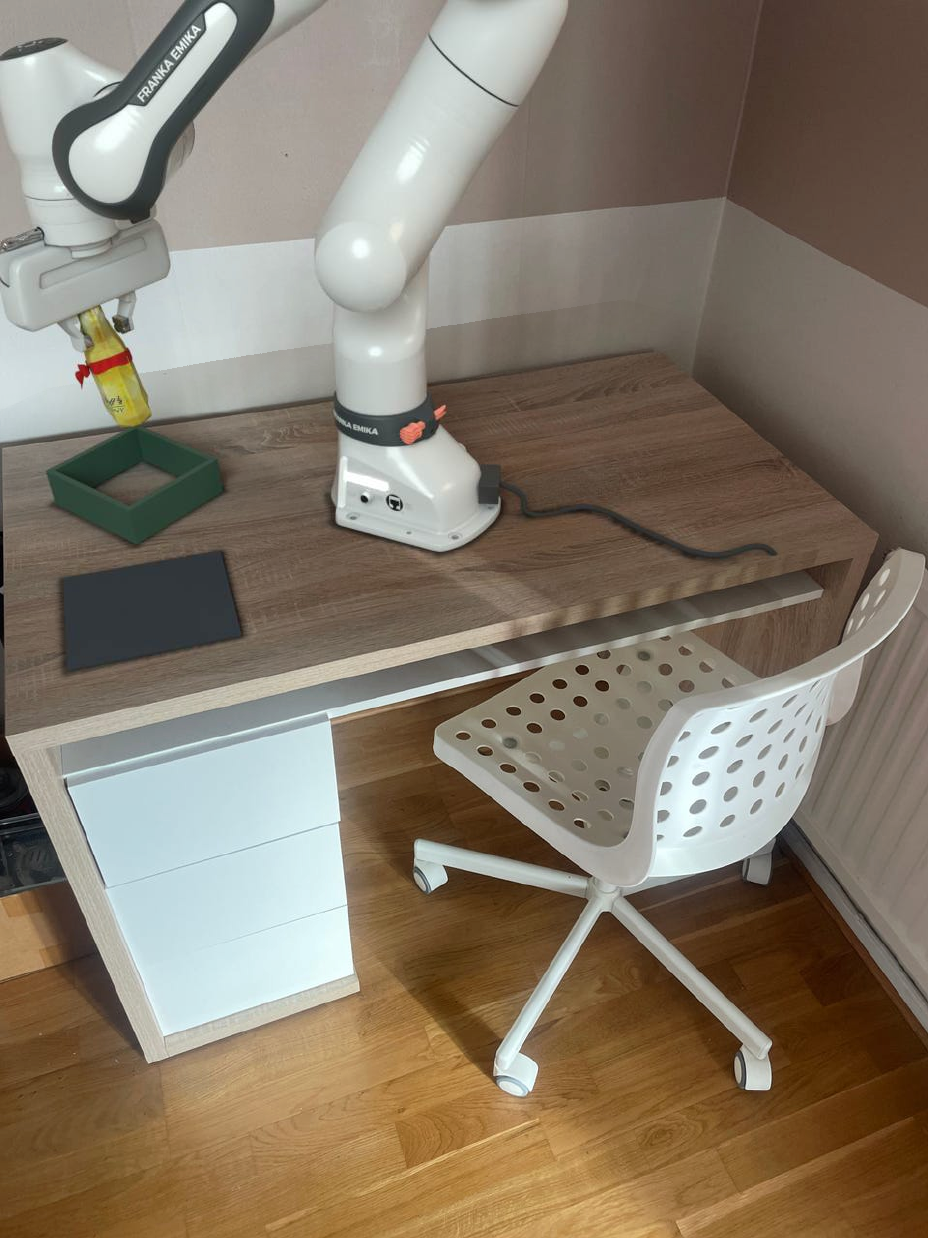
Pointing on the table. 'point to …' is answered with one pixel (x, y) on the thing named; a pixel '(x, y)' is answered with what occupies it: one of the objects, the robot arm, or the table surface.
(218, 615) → the mat
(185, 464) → the crate
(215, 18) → the robot arm
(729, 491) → the table surface
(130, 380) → the chocolate bunny
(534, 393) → the table surface
